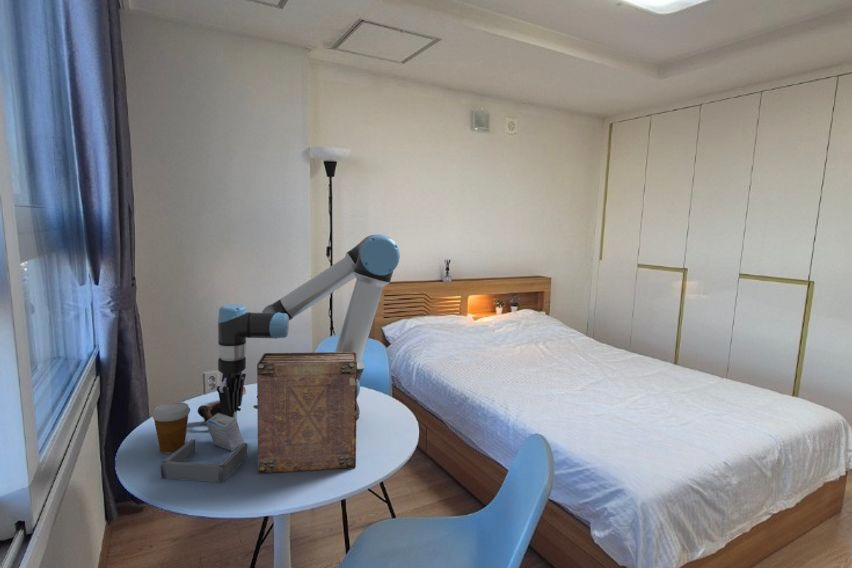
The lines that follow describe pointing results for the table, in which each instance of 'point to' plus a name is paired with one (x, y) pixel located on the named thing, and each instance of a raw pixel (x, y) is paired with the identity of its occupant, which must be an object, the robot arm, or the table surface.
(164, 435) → the disposable coffee cup
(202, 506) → the table surface
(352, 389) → the book
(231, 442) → the medicine box
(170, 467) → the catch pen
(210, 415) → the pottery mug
